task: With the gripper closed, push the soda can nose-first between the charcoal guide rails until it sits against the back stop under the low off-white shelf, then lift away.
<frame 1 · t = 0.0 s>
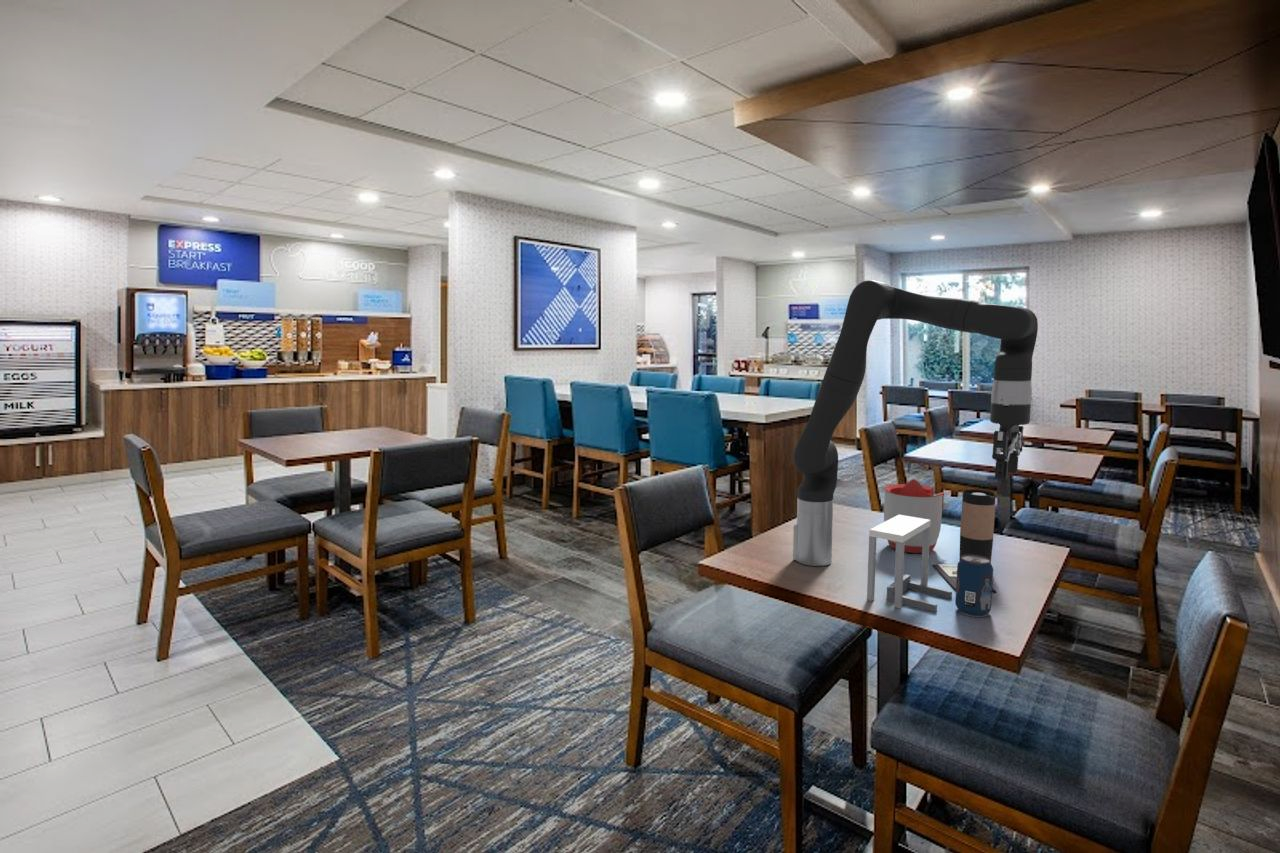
hand: (1006, 475, 144), 29 cm above the table, tool pointing down, fingers open, 8 cm apart
travel mug: (974, 568, 171), on the table
citrus juicer: (913, 548, 188), on the table
overhang shelf: (897, 593, 155), on the table
chocolate bar: (962, 581, 164), on the table
soda can: (972, 612, 144), on the table
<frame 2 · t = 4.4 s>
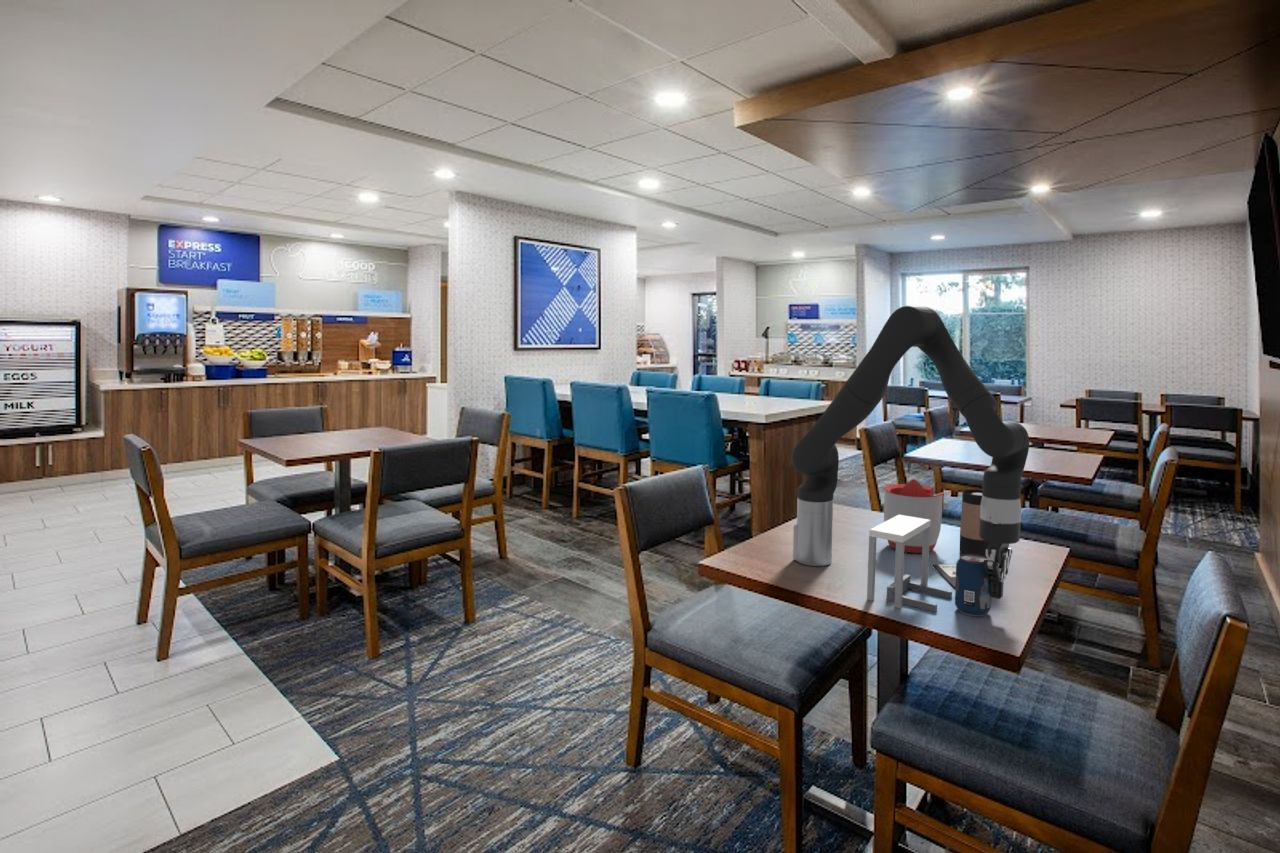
hand: (996, 597, 140), 4 cm above the table, tool pointing down, fingers closed
soda can: (972, 612, 144), on the table, touching gripper
everything else where it was.
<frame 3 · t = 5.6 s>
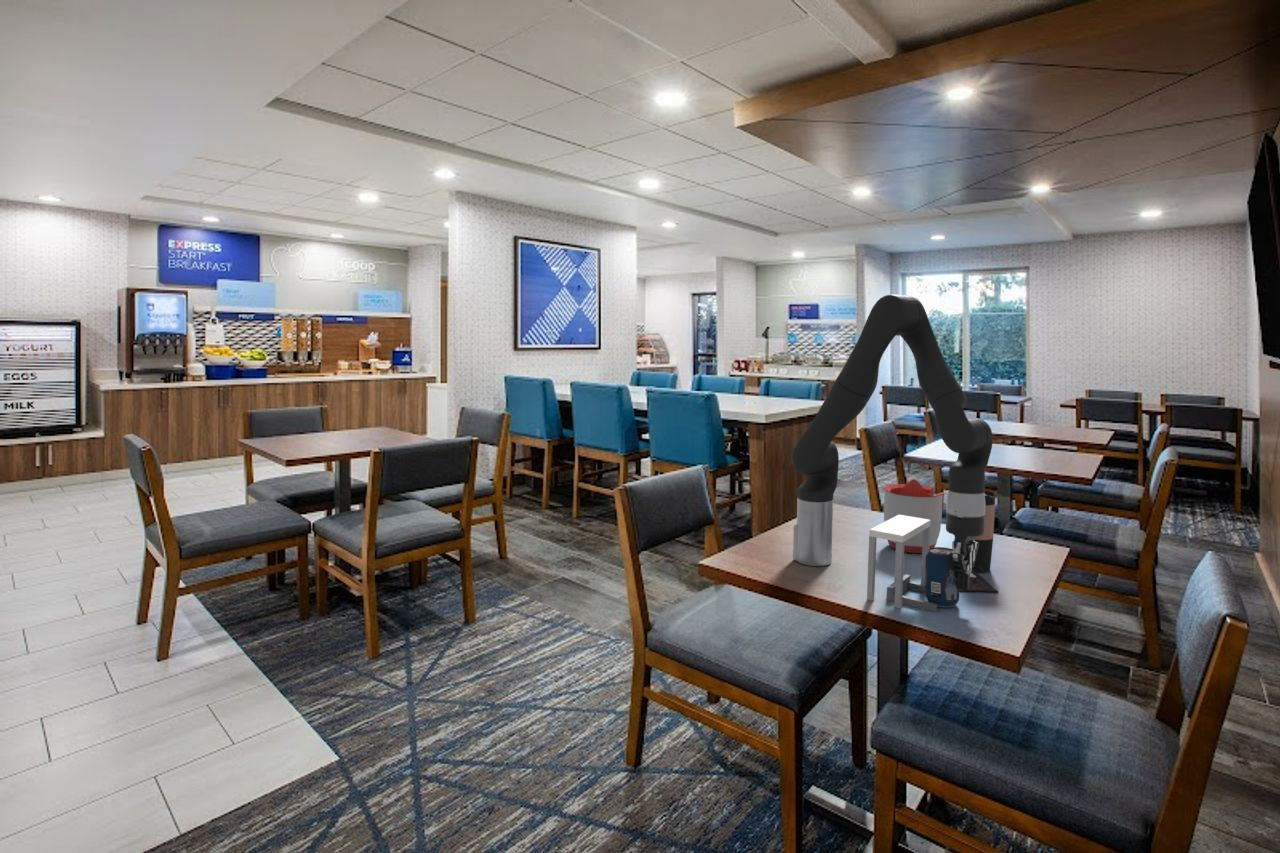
hand: (962, 588, 144), 5 cm above the table, tool pointing down, fingers closed
soda can: (942, 603, 148), on the table, touching gripper
everything else where it was.
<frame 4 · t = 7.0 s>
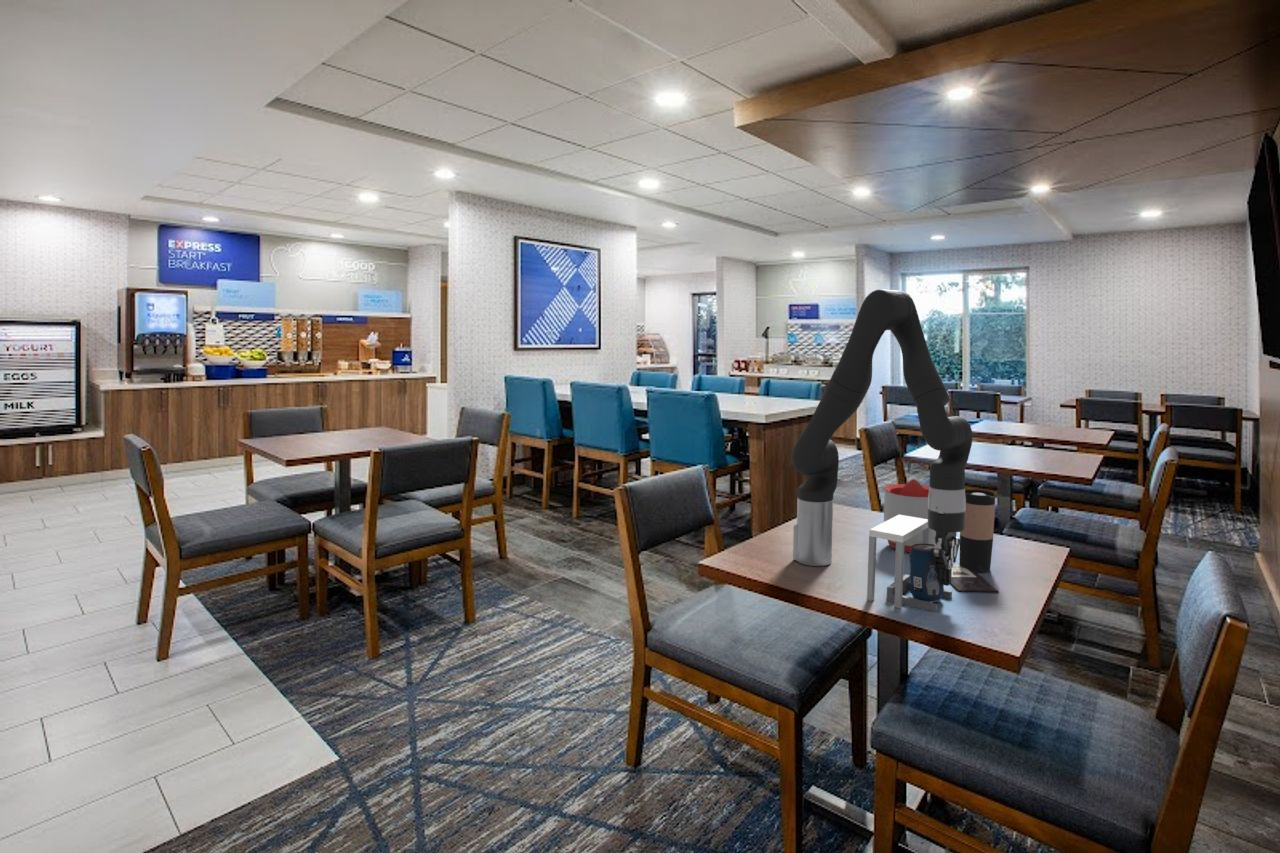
hand: (944, 584, 147), 5 cm above the table, tool pointing down, fingers closed
soda can: (927, 599, 151), on the table, touching gripper
everything else where it was.
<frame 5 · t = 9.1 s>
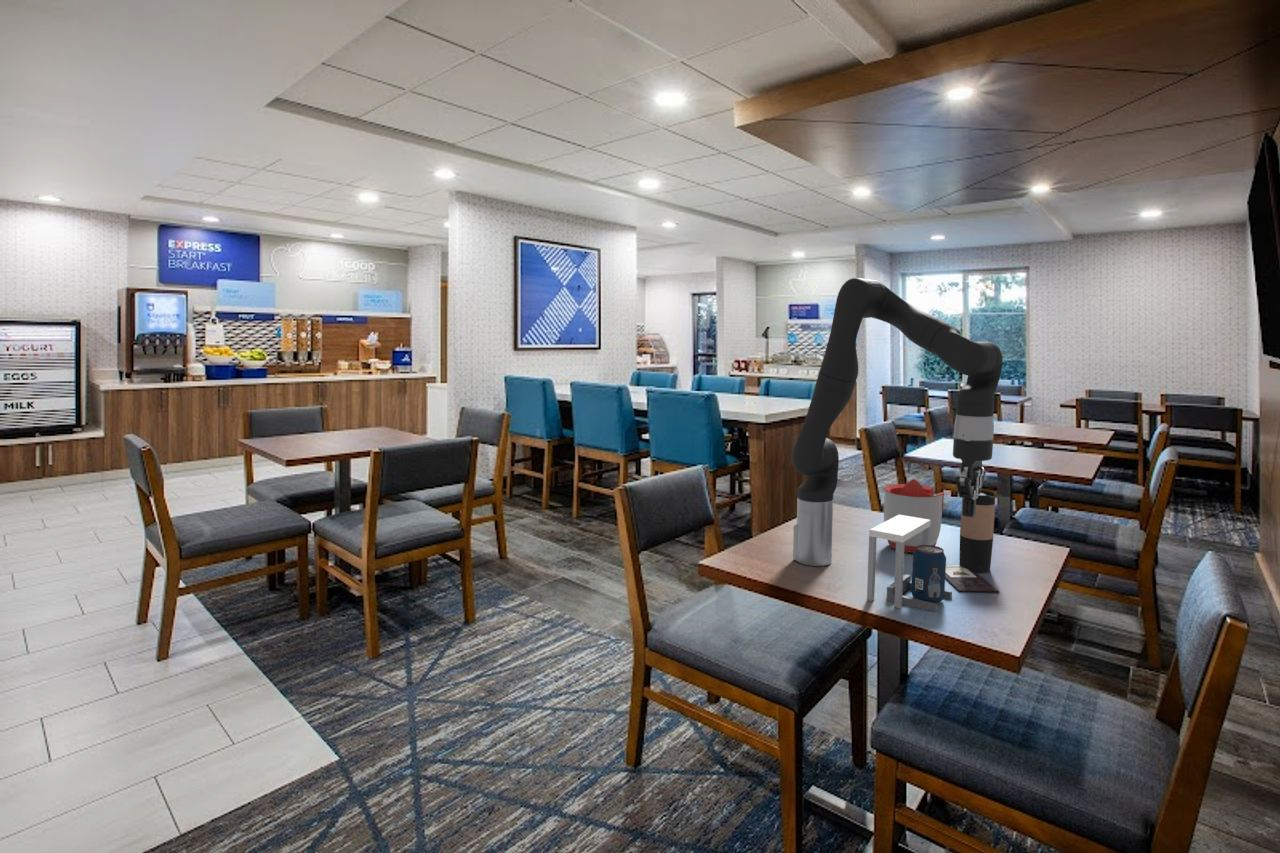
hand: (968, 515, 142), 21 cm above the table, tool pointing down, fingers closed
soda can: (927, 600, 151), on the table
everything else where it was.
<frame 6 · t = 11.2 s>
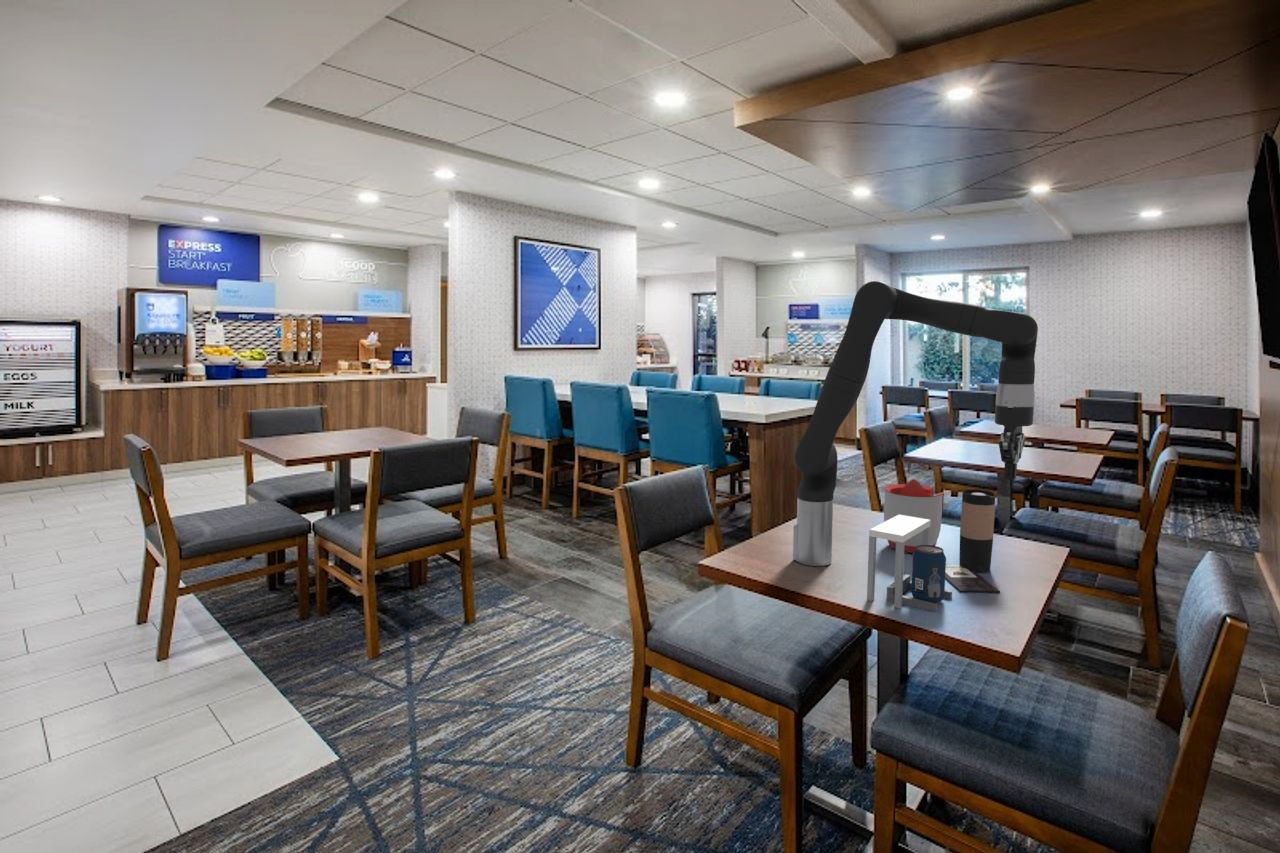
hand: (1009, 479, 151), 27 cm above the table, tool pointing down, fingers closed
nothing on the table moved.
at the end: soda can 2.0 cm from the target spot, on the table; soda can moved 9.8 cm from its start; soda can tilted 0° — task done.
